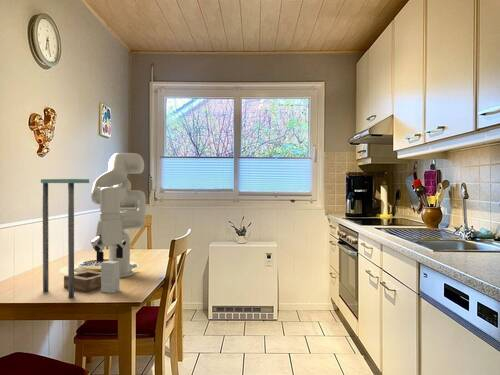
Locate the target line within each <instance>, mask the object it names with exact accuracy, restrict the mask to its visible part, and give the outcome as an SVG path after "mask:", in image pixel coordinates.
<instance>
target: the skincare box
mask: <svg viewBox="0 0 500 375" xmlns="http://www.w3.org/2000/svg"><path fill="white" fill-rule="evenodd" d="M100 272H101V288H100V291H101V293H108V294H109V293H110V294H114V293H116V292H118V291H120V288H121V287H120V278H119V261H109V260H106V261H103V262H100Z"/></svg>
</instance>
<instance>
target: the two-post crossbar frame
mask: <svg viewBox="0 0 500 375" xmlns="http://www.w3.org/2000/svg"><path fill="white" fill-rule="evenodd" d="M40 183H41V184H42V293H48V292H49V287H50V286H49V284H50V283H49V184H67V199H68V200H67V201H68V202H67V203H68V205H67V212H68V213H67V214H68V215H67V220H68V221H67V222H68V224H67V228H68V229H67V230H68V231H67V232H68V233H67V236H68V237H67V238H68V239H67V242H68V243H67V244H68V247H67V248H68V249H67V251H68V252H67V254H68V265H67V266H68V267H67V269H68V270H67V271H68V273H67V275H68V289H67V290H68V292H67V293H68V294H67V295H68V297H67V298H69V299H74V298H75V290H74V274H75V184H90V179H88V178H87V179H86V178H57V179H56V178H51V179H49V178H47V179H45V178H43V179H40Z"/></svg>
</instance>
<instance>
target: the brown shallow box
mask: <svg viewBox="0 0 500 375" xmlns="http://www.w3.org/2000/svg"><path fill="white" fill-rule="evenodd" d="M63 288H64V289H67V290H68V274H67V275H66V274H65V275H63ZM96 290H101V271H95V270H84V271H80V272H76V273H75V272H74V291H77V292H78V291H79V292H81V293H90V292H92V291H96Z"/></svg>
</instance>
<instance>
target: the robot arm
mask: <svg viewBox="0 0 500 375" xmlns="http://www.w3.org/2000/svg"><path fill="white" fill-rule="evenodd" d="M144 170H145V161H144V159H143V156H141V154H139V153H136V152H135V153H134V152H116V153H114V154H113V155H112V156H111V157H110V159H109V161H108V168H107V171H106V172H104V173H102V174H101V175H100V176H99V177H97V178H96V179H95V181H93V186H92V189H91V197H90V198H91V201H92V202H93V204H95V205H97V206H99V205H100V206H99V210H100V212H99V213H100V214H99V215H100V218H99V220H100V221H99V220H98V222H97V226H96V233H95V238H94V239H92V240H91V241H90V243H91V245H92V248H93V250H94V252H96V262H97V263H98V262H99V263H102V262H105V261H104V260H105V258H104V249H105V247H108V261H119V278H122V279H123V278H128V277H131V276H133V275H134V271H133V269H136V268H138V265H137V263H134V264H132V263H131V261H130V260H131V248H130V247H131V237H130V235H129V234H128V233H127V232H126V230H135V229H143V228H144V226H145V223H146V205H147V198H146V194H145V192H144V191H142V190H138V189H137V190H135V189H133V190H132V184H131V181H130V180H129V179H128V178H127V176H128V174H129V175H130V174H133V175H134V174H136V175H137V174H142V173H143V172H144Z"/></svg>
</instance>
